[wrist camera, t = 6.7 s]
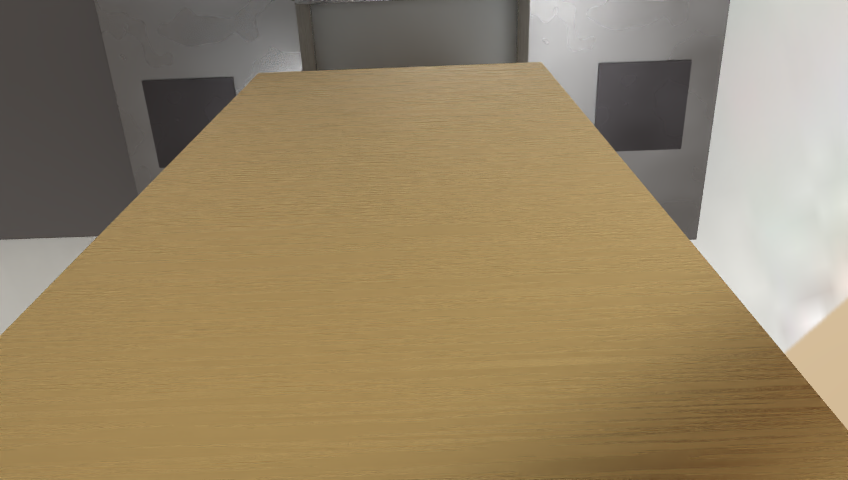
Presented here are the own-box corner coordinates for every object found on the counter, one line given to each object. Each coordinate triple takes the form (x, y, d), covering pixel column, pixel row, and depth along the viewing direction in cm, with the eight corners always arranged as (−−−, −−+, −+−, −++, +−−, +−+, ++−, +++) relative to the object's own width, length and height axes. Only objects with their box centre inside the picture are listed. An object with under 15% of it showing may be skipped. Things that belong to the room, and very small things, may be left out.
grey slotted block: (177, 225, 28) (150, 259, 26) (124, -38, 24) (85, -32, 21) (669, 208, 28) (697, 240, 25) (702, -61, 24) (739, -58, 21)
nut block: (258, 72, 15) (-182, 519, 4) (541, 62, 15) (891, 482, 4) (292, 315, 17) (82, 991, 6) (532, 305, 17) (729, 972, 6)
